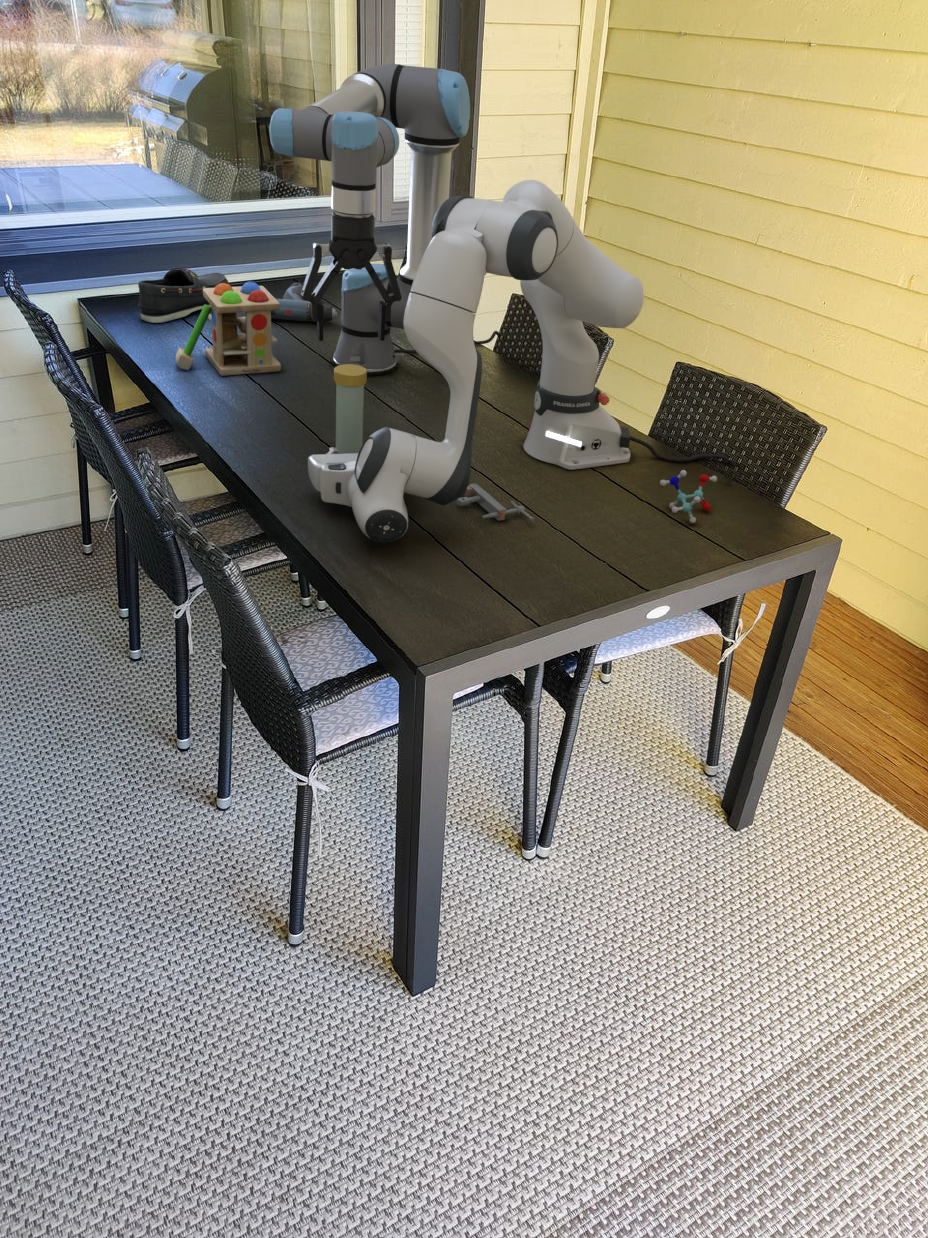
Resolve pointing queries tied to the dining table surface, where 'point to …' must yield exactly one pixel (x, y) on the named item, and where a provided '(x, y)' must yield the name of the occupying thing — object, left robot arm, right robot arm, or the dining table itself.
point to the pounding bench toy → (229, 347)
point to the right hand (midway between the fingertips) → (358, 450)
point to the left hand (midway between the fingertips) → (350, 338)
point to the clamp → (489, 503)
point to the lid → (350, 375)
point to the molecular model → (683, 497)
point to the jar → (349, 418)
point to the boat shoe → (175, 294)
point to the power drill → (299, 307)
